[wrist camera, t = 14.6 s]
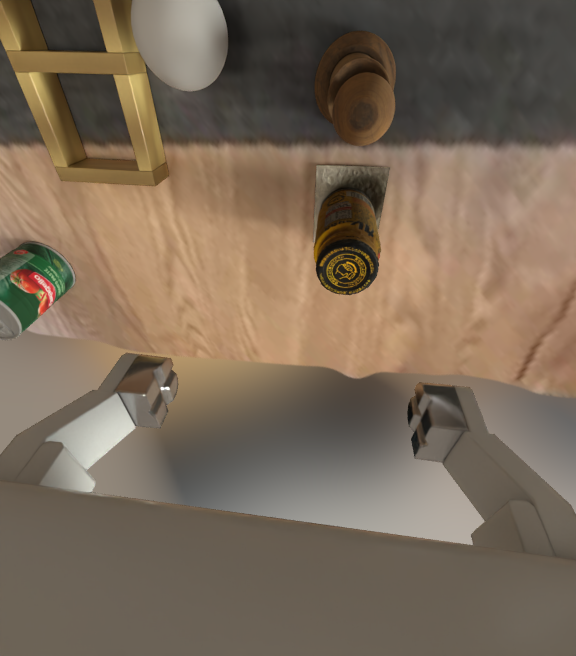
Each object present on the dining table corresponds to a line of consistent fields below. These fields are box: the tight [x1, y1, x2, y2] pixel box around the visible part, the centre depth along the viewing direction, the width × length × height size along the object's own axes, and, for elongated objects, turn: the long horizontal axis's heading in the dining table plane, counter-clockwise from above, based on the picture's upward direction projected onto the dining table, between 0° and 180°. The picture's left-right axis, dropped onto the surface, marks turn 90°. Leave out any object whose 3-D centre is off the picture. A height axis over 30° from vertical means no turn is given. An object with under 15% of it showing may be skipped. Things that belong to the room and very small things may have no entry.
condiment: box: [313, 165, 390, 295], centre depth 31 cm, size 7×8×12 cm
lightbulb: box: [131, 0, 228, 91], centre depth 24 cm, size 6×6×11 cm
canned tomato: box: [0, 242, 75, 340], centre depth 42 cm, size 8×8×11 cm
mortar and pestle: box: [315, 31, 396, 146], centre depth 22 cm, size 7×6×18 cm
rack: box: [0, 0, 169, 186], centre depth 29 cm, size 19×10×4 cm, turn 179°
